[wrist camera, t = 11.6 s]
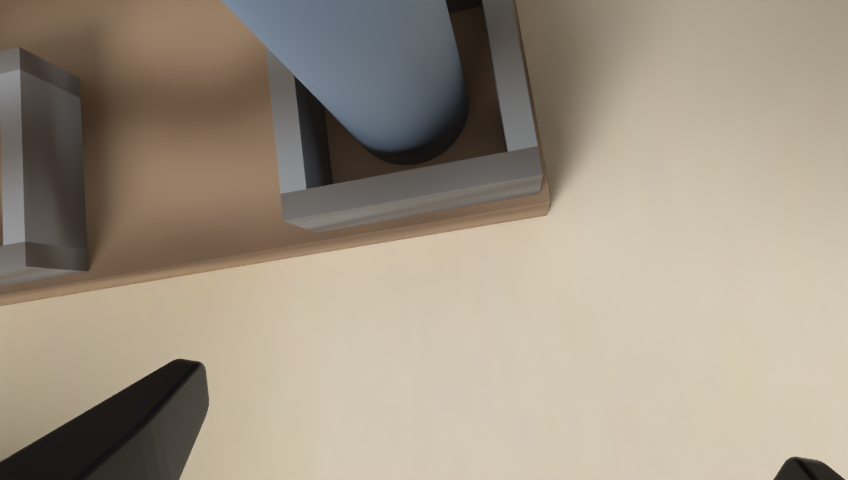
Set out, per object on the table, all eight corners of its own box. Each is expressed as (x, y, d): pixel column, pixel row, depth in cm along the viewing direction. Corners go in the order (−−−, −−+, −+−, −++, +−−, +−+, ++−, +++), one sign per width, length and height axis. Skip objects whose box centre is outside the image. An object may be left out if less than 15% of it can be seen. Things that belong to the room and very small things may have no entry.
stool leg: (384, 187, 18) (80, -80, 6) (331, 88, 18) (-38, -339, 6) (491, 125, 17) (419, -309, 5) (432, 27, 18) (251, -553, 6)
